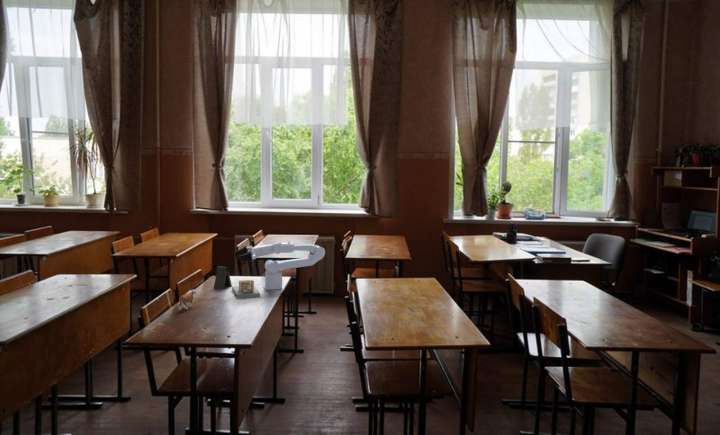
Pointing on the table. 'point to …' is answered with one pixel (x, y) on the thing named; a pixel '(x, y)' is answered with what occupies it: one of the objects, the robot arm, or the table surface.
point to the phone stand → (222, 278)
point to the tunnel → (246, 282)
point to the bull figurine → (187, 299)
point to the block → (246, 287)
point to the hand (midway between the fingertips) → (236, 256)
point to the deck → (245, 293)
